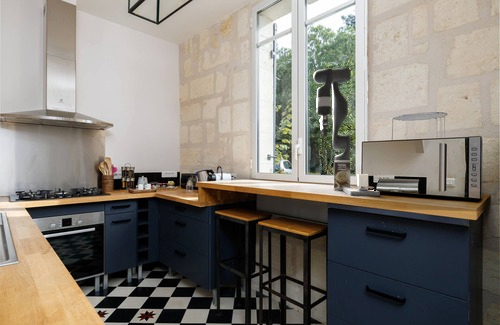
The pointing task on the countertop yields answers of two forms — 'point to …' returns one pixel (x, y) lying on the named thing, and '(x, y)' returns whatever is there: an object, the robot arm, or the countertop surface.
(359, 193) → the fader console
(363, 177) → the fader knob
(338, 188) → the coffee box
